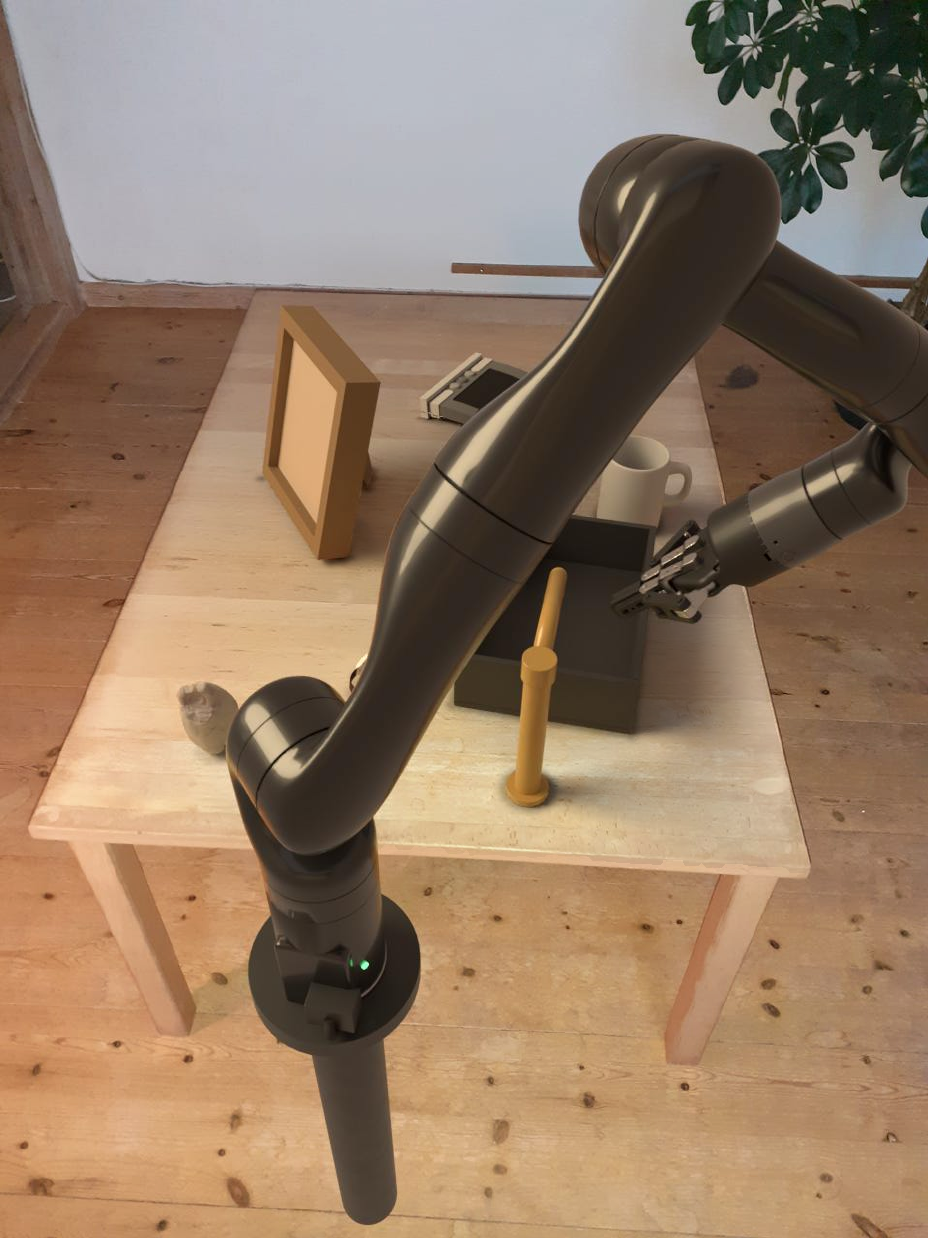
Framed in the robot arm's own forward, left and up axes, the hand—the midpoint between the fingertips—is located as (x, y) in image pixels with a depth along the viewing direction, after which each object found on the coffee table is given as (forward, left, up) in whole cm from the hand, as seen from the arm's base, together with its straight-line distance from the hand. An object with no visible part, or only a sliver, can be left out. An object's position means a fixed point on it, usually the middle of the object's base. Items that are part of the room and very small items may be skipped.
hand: (616, 608), depth 94 cm
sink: (+15, +6, -18) cm, 24 cm away
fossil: (-10, +39, -19) cm, 45 cm away
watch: (+3, +25, -19) cm, 31 cm away
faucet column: (-9, +6, -18) cm, 21 cm away
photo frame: (+34, +39, -19) cm, 55 cm away
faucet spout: (-3, +6, -4) cm, 8 cm away
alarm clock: (+64, +23, -19) cm, 71 cm away
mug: (+40, -2, -19) cm, 44 cm away
